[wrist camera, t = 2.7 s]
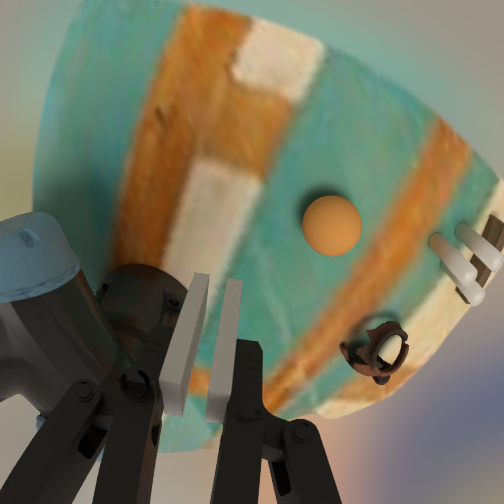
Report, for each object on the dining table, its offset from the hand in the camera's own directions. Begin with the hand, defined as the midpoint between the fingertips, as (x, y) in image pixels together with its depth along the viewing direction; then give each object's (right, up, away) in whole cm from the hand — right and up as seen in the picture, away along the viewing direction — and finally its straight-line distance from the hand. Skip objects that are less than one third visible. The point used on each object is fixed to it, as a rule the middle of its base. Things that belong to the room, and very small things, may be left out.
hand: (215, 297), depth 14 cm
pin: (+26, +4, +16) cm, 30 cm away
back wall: (+35, +2, +16) cm, 39 cm away
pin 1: (+30, +5, +15) cm, 34 cm away
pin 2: (+29, +1, +17) cm, 34 cm away
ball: (+10, +5, +12) cm, 16 cm away
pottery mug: (+21, -11, +25) cm, 34 cm away
